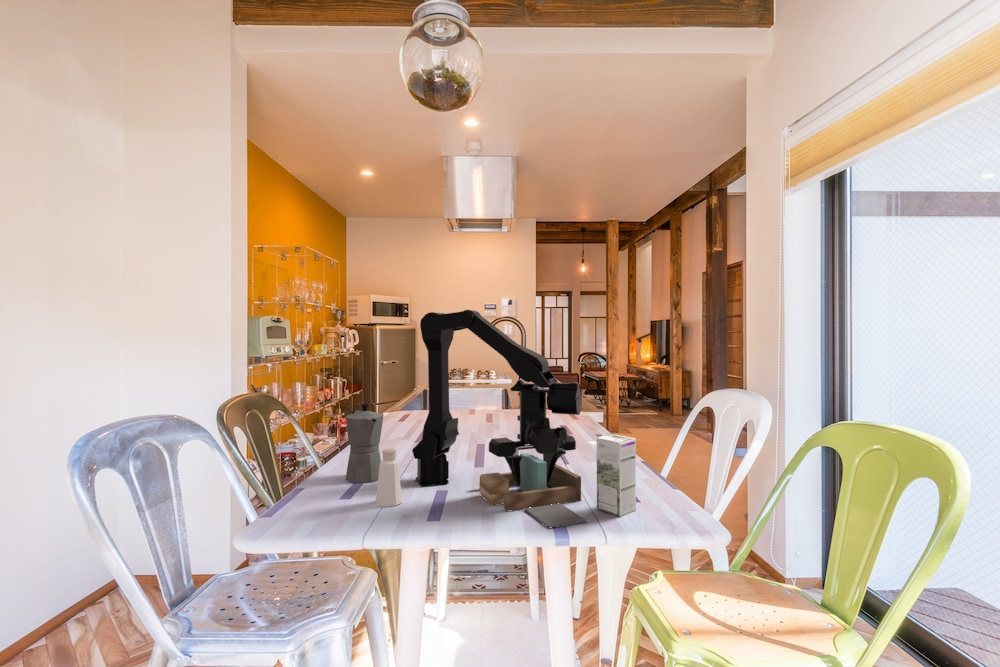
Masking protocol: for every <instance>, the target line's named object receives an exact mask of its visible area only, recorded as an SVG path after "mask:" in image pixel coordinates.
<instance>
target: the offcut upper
mask: <svg viewBox="0 0 1000 667" xmlns="http://www.w3.org/2000/svg"><path fill="white" fill-rule="evenodd" d="M500 473H501V472H488V473H481V474H480V476H481V486H482V487H483V488H484V489H485V490H486V491H487V492H488V493H489V494H490V495H493V494H502V493H510V490H509V489H510V487H509V481H508V480H507V479H506V478H505V477H503V476H502V475H501V474H500Z"/></svg>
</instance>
